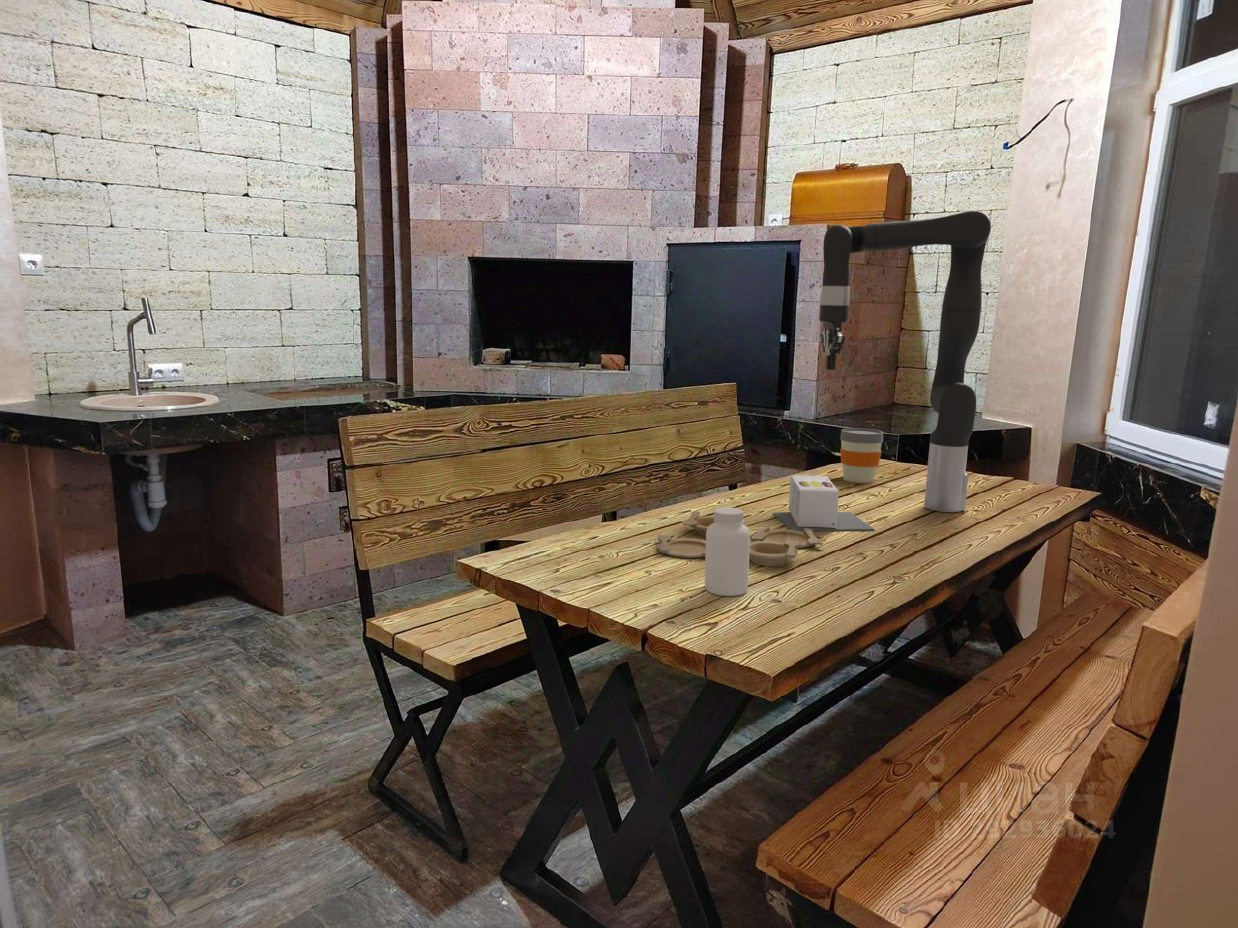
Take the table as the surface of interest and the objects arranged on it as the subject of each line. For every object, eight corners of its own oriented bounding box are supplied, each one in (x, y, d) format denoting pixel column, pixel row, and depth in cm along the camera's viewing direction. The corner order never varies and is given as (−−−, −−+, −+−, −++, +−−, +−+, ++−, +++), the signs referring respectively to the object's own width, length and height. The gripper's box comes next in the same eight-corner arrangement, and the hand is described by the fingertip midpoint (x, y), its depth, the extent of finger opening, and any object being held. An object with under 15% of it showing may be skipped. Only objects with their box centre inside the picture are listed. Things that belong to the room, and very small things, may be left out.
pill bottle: (700, 582, 154) (703, 505, 151) (742, 582, 154) (746, 505, 151) (708, 597, 146) (711, 516, 143) (752, 597, 146) (756, 516, 144)
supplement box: (827, 475, 206) (841, 490, 190) (825, 511, 208) (838, 529, 191) (789, 474, 207) (799, 489, 190) (787, 510, 208) (797, 527, 192)
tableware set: (827, 538, 186) (828, 521, 185) (813, 577, 159) (814, 557, 158) (678, 522, 197) (679, 506, 197) (642, 556, 170) (642, 537, 169)
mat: (849, 513, 208) (849, 512, 208) (874, 530, 192) (874, 529, 192) (772, 513, 206) (772, 512, 206) (791, 531, 190) (791, 529, 190)
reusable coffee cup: (853, 473, 258) (856, 426, 255) (888, 480, 249) (892, 432, 246) (828, 478, 250) (832, 430, 247) (864, 485, 241) (868, 435, 238)
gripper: (857, 304, 210) (852, 371, 213) (839, 304, 223) (835, 368, 226) (829, 303, 209) (824, 371, 213) (812, 303, 222) (808, 367, 226)
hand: (830, 369), depth 219 cm, fingers closed
